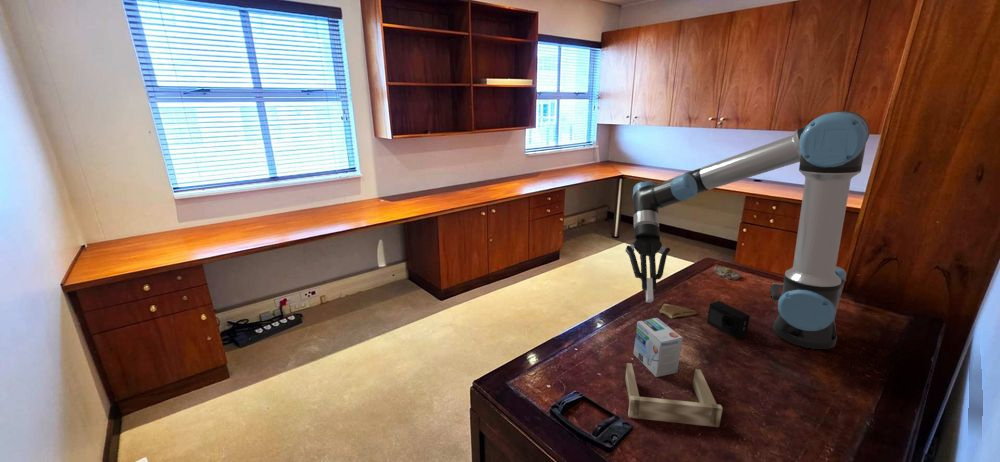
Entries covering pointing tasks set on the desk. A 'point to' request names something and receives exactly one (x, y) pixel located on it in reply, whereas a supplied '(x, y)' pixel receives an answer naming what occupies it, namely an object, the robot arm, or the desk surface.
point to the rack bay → (674, 404)
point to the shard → (676, 311)
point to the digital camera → (728, 319)
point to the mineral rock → (726, 273)
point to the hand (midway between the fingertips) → (649, 300)
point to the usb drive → (776, 291)
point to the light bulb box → (657, 347)
